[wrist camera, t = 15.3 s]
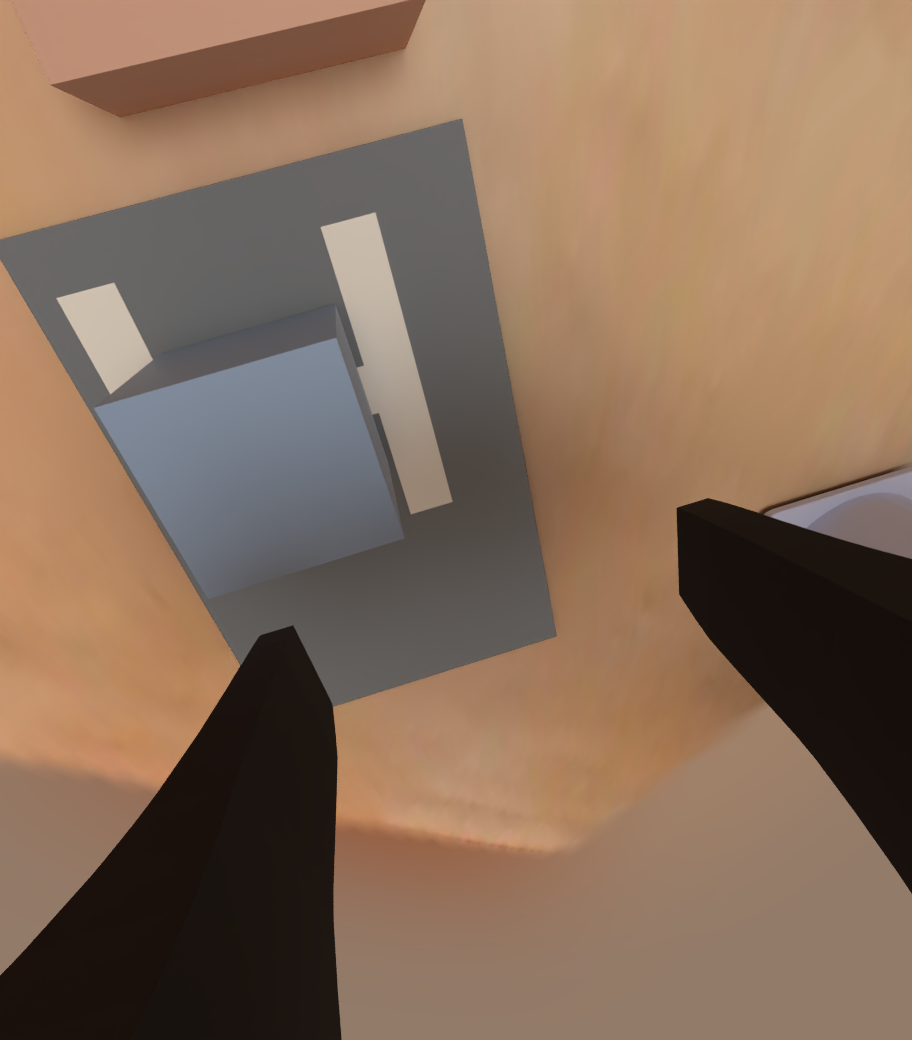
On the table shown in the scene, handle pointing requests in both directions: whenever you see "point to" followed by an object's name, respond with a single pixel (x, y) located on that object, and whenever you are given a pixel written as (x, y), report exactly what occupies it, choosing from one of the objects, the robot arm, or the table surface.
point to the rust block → (201, 44)
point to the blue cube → (258, 451)
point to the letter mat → (381, 366)
